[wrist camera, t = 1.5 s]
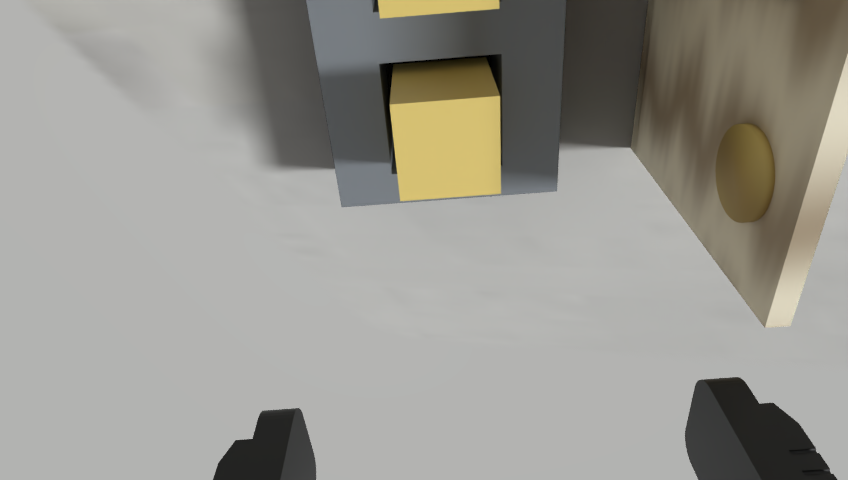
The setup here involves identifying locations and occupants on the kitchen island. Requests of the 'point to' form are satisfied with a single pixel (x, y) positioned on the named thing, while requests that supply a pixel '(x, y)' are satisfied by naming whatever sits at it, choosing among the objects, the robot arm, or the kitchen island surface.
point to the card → (747, 132)
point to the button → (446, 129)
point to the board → (425, 40)
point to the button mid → (431, 7)
